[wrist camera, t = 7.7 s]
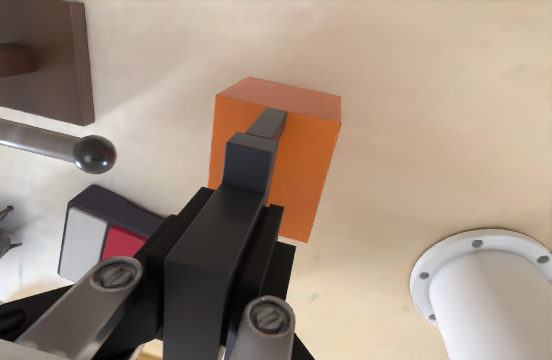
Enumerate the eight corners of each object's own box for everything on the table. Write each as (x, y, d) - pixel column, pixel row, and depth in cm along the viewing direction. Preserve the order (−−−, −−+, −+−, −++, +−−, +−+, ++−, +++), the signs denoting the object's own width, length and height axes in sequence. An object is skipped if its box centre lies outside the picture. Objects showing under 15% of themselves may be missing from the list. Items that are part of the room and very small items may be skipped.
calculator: (180, 332, 36) (51, 280, 35) (193, 301, 40) (77, 253, 38) (212, 268, 31) (61, 204, 29) (223, 240, 35) (90, 182, 33)
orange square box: (341, 96, 20) (342, 249, 6) (315, 192, 23) (279, 429, 10) (247, 76, 20) (68, 179, 7) (235, 173, 24) (95, 373, 10)
